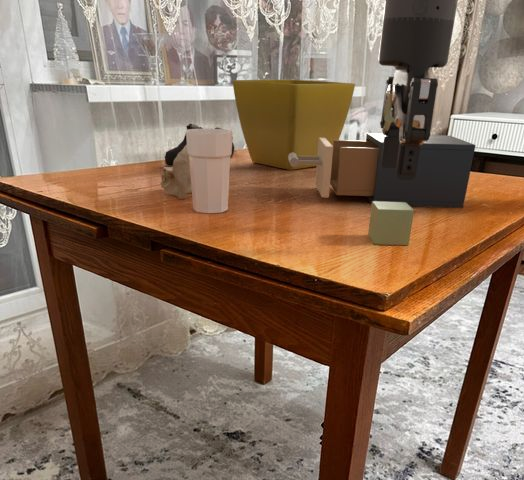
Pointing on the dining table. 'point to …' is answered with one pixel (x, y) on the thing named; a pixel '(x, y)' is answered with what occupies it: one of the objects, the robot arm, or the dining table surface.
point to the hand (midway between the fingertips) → (396, 173)
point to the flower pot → (290, 117)
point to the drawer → (343, 166)
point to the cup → (209, 168)
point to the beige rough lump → (178, 176)
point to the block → (390, 223)
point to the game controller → (174, 152)
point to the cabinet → (428, 174)
